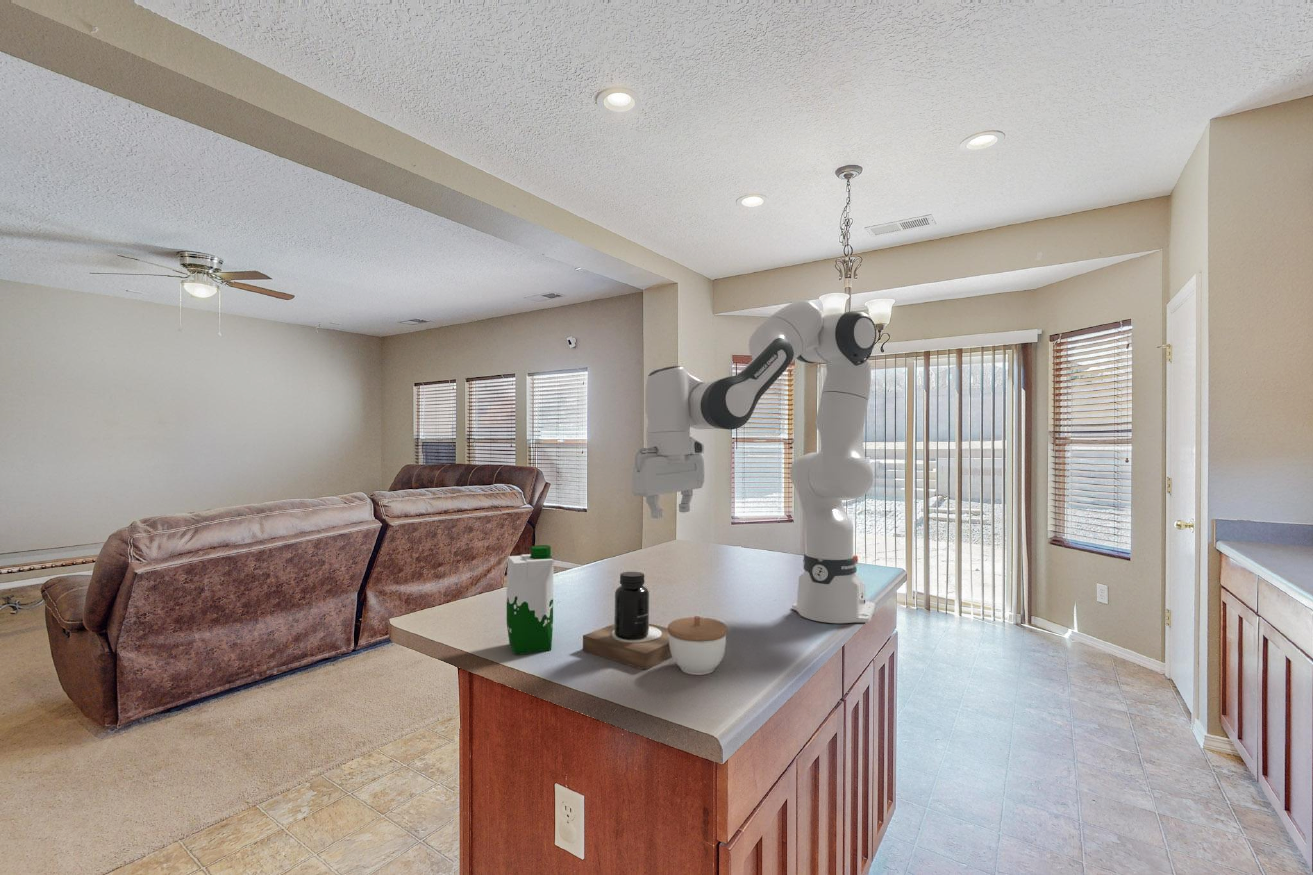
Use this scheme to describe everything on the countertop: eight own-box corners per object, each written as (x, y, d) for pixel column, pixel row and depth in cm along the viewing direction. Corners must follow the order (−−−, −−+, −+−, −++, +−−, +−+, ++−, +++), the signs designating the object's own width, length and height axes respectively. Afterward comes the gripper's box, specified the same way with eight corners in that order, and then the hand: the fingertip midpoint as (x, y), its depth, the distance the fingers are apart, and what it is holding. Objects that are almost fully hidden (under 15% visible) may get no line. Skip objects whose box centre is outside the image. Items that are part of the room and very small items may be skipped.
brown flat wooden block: (628, 632, 123) (628, 617, 123) (689, 648, 114) (689, 631, 114) (582, 650, 112) (582, 633, 112) (646, 670, 103) (646, 651, 103)
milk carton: (557, 651, 112) (557, 549, 112) (510, 657, 109) (510, 552, 109) (547, 637, 120) (547, 542, 121) (503, 643, 117) (504, 545, 117)
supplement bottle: (646, 641, 108) (646, 578, 108) (611, 640, 109) (611, 577, 109) (651, 630, 115) (651, 570, 115) (618, 628, 116) (618, 569, 116)
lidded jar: (725, 682, 97) (725, 627, 97) (663, 678, 99) (663, 624, 99) (728, 659, 108) (728, 609, 108) (672, 655, 110) (672, 607, 110)
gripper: (648, 447, 105) (651, 522, 104) (708, 444, 121) (711, 509, 121) (622, 448, 108) (625, 520, 108) (684, 445, 125) (686, 508, 125)
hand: (671, 515), depth 115 cm, fingers open, 8 cm apart
